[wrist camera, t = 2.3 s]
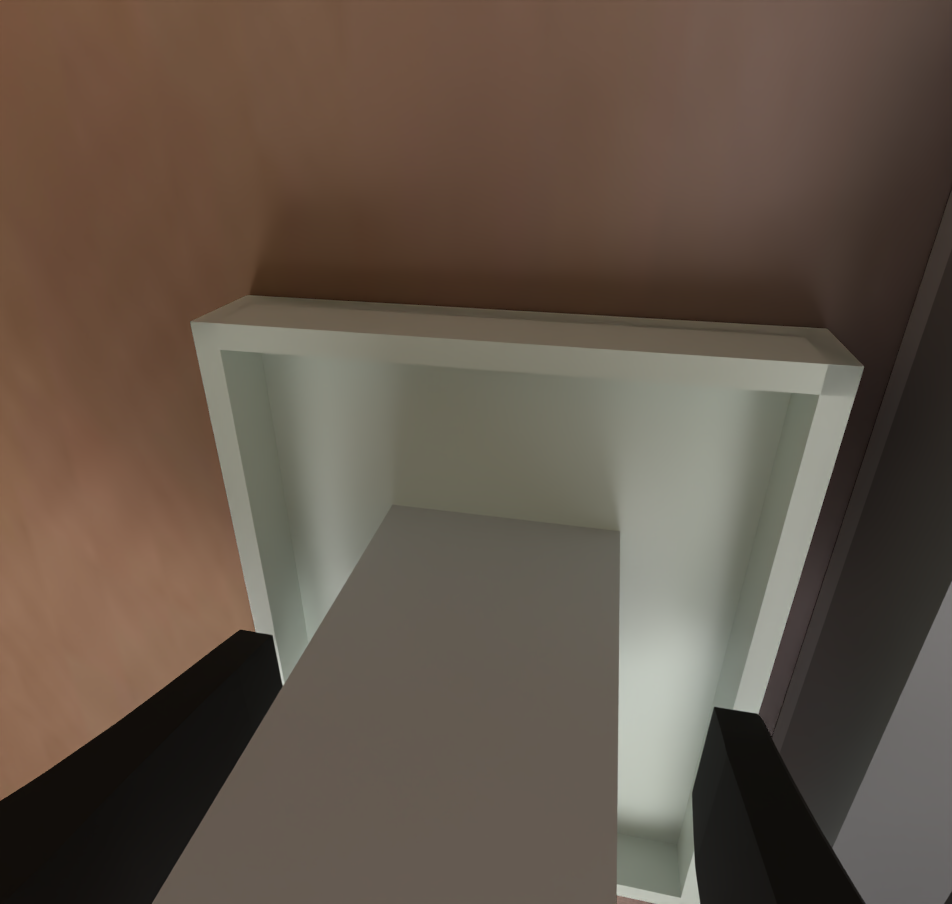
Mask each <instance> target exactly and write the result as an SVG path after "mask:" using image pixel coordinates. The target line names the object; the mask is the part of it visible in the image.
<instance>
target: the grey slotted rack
mask: <svg viewBox="0 0 952 904" xmlns="http://www.w3.org/2000/svg"><path fill="white" fill-rule="evenodd" d="M772 740H773V742H774V744H775V746H776V748H777V750H778V752H779V753H780V755H781V757H782V759H783V761H784V763H785V765H786V767H787V769H788V771H789V773H790V774H791V776H792V778H793V780H794V782H795V784H796V786H797V787H798V789H799V791H800V793H801V795H802V796H803V798H804V800H805V802H806V804H807V806H808V807H809V809H810V811H811V813H812V815H813V816H814V818H815V820H816V822H817V823H818V825H819V827H820V829H821V830H822V832H823V834H824V835H825V837H826V839H827V840H828V842H829V844H830V845H831V847H832V849H833V850H834V852H835V854H836V855H837V857H838V859H839V861H840V862H841V864H842V866H843V867H844V869H845V871H846V872H847V874H848V876H849V877H850V879H851V881H852V882H853V884H854V886H855V887H856V889H857V890H858V892H859V894H860V895H861V897H862V898H863V900H864V902H865V903H866V904H952V190H951V193H950V196H949V199H948V202H947V205H946V208H945V212H944V215H943V218H942V221H941V224H940V227H939V230H938V233H937V236H936V239H935V242H934V245H933V248H932V251H931V254H930V257H929V260H928V263H927V266H926V270H925V273H924V276H923V279H922V282H921V285H920V288H919V291H918V294H917V297H916V300H915V303H914V306H913V309H912V312H911V315H910V318H909V321H908V324H907V328H906V331H905V334H904V337H903V340H902V343H901V346H900V349H899V352H898V355H897V358H896V361H895V364H894V367H893V370H892V373H891V376H890V379H889V382H888V386H887V389H886V392H885V395H884V398H883V401H882V404H881V407H880V410H879V413H878V416H877V419H876V422H875V425H874V428H873V431H872V434H871V437H870V440H869V444H868V447H867V450H866V453H865V456H864V459H863V462H862V465H861V468H860V471H859V474H858V477H857V480H856V483H855V486H854V489H853V492H852V495H851V498H850V502H849V505H848V508H847V511H846V514H845V517H844V520H843V523H842V526H841V529H840V532H839V535H838V538H837V541H836V544H835V547H834V550H833V553H832V556H831V560H830V563H829V566H828V569H827V572H826V575H825V578H824V581H823V584H822V587H821V590H820V593H819V596H818V599H817V602H816V605H815V608H814V611H813V614H812V618H811V621H810V624H809V627H808V630H807V633H806V636H805V639H804V642H803V645H802V648H801V651H800V654H799V657H798V660H797V663H796V666H795V669H794V672H793V676H792V679H791V682H790V685H789V688H788V691H787V694H786V697H785V700H784V703H783V706H782V709H781V712H780V715H779V718H778V721H777V724H776V727H775V730H774V734H773V737H772Z"/></svg>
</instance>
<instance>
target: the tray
mask: <svg viewBox="0 0 952 904" xmlns="http://www.w3.org/2000/svg"><path fill="white" fill-rule="evenodd" d="M190 324H191V329H192V334H193V338H194V343H195V348H196V352H197V357H198V362H199V367H200V371H201V376H202V381H203V386H204V390H205V395H206V400H207V404H208V409H209V414H210V419H211V423H212V428H213V433H214V437H215V442H216V447H217V452H218V456H219V461H220V466H221V471H222V475H223V480H224V485H225V489H226V494H227V499H228V504H229V508H230V513H231V518H232V522H233V527H234V532H235V537H236V541H237V546H238V551H239V556H240V560H241V565H242V570H243V574H244V579H245V584H246V589H247V593H248V598H249V603H250V607H251V612H252V617H253V622H254V626H255V631H256V632H257V633H264V634H270V635H273V640H274V645H275V650H276V655H277V660H278V665H279V670H280V675H281V680H282V685H284V684H285V682H286V680H287V679H288V677H289V675H290V674H291V672H292V670H293V669H294V667H295V665H296V664H297V662H298V660H299V659H300V657H301V655H302V654H303V652H304V651H305V649H306V647H307V646H308V644H309V642H310V641H311V639H312V637H313V636H314V634H315V632H316V631H317V629H318V627H319V626H320V624H321V622H322V621H323V619H324V617H325V616H326V614H327V612H328V611H329V609H330V607H331V606H332V604H333V602H334V601H335V599H336V597H337V596H338V594H339V592H340V591H341V589H342V588H343V586H344V584H345V583H346V581H347V579H348V578H349V576H350V574H351V573H352V571H353V569H354V568H355V566H356V564H357V563H358V561H359V559H360V558H361V556H362V554H363V553H364V551H365V549H366V548H367V546H368V544H369V543H370V541H371V539H372V538H373V536H374V534H375V533H376V531H377V529H378V528H379V526H380V524H381V523H382V521H383V520H384V518H385V516H386V515H387V513H388V511H389V510H390V508H391V506H392V505H400V506H408V507H417V508H425V509H434V510H442V511H451V512H460V513H468V514H477V515H485V516H494V517H502V518H511V519H519V520H528V521H536V522H545V523H553V524H562V525H570V526H579V527H587V528H596V529H604V530H613V531H620V604H619V705H618V806H617V895H618V896H623V897H627V898H632V899H636V900H641V901H646V902H650V903H655V904H700V899H699V892H698V885H697V877H696V870H695V856H694V836H693V811H692V791H693V787H694V783H695V779H696V775H697V771H698V767H699V763H700V759H701V755H702V752H703V748H704V744H705V740H706V736H707V732H708V728H709V724H710V720H711V716H712V713H713V709H714V707H719V708H726V709H732V710H738V711H744V712H750V713H756V714H759V710H760V707H761V704H762V701H763V697H764V694H765V691H766V687H767V684H768V681H769V678H770V674H771V671H772V668H773V665H774V661H775V658H776V655H777V651H778V648H779V645H780V642H781V638H782V635H783V632H784V628H785V625H786V622H787V619H788V615H789V612H790V609H791V605H792V602H793V599H794V596H795V592H796V589H797V586H798V582H799V579H800V576H801V573H802V569H803V566H804V563H805V560H806V556H807V553H808V550H809V546H810V543H811V540H812V537H813V533H814V530H815V527H816V523H817V520H818V517H819V514H820V510H821V507H822V504H823V500H824V497H825V494H826V491H827V487H828V484H829V481H830V477H831V474H832V471H833V468H834V464H835V461H836V458H837V455H838V451H839V448H840V445H841V441H842V438H843V435H844V432H845V428H846V425H847V422H848V418H849V415H850V412H851V409H852V405H853V402H854V399H855V395H856V392H857V389H858V386H859V382H860V379H861V376H862V372H863V369H864V366H863V365H862V364H861V363H860V362H859V361H858V360H857V359H856V358H855V357H854V356H853V355H852V354H851V353H850V352H849V350H848V349H847V348H846V347H845V346H844V345H843V344H842V343H841V342H840V341H839V340H838V339H837V338H836V337H835V336H834V335H833V334H832V333H831V332H830V331H829V330H828V329H826V328H809V327H792V326H774V325H757V324H740V323H722V322H705V321H688V320H670V319H653V318H636V317H618V316H601V315H584V314H566V313H549V312H532V311H514V310H497V309H480V308H463V307H445V306H428V305H411V304H393V303H376V302H359V301H341V300H324V299H307V298H289V297H272V296H255V295H246V296H244V297H242V298H239V299H237V300H235V301H233V302H231V303H229V304H227V305H224V306H222V307H220V308H218V309H216V310H214V311H211V312H209V313H207V314H205V315H203V316H201V317H198V318H196V319H194V320H192V321H190Z"/></svg>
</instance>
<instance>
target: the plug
mask: <svg viewBox="0 0 952 904" xmlns="http://www.w3.org/2000/svg"><path fill="white" fill-rule="evenodd" d="M619 604H620V531H613V530H604V529H596V528H587V527H579V526H570V525H562V524H553V523H545V522H536V521H528V520H519V519H511V518H502V517H494V516H485V515H477V514H468V513H460V512H451V511H442V510H434V509H425V508H417V507H408V506H400V505H392V506H391V508H390V510H389V511H388V513H387V515H386V516H385V518H384V520H383V521H382V523H381V524H380V526H379V528H378V529H377V531H376V533H375V534H374V536H373V538H372V539H371V541H370V543H369V544H368V546H367V548H366V549H365V551H364V553H363V554H362V556H361V558H360V559H359V561H358V563H357V564H356V566H355V568H354V569H353V571H352V573H351V574H350V576H349V578H348V579H347V581H346V583H345V584H344V586H343V588H342V589H341V591H340V592H339V594H338V596H337V597H336V599H335V601H334V602H333V604H332V606H331V607H330V609H329V611H328V612H327V614H326V616H325V617H324V619H323V621H322V622H321V624H320V626H319V627H318V629H317V631H316V632H315V634H314V636H313V637H312V639H311V641H310V642H309V644H308V646H307V647H306V649H305V651H304V652H303V654H302V655H301V657H300V659H299V660H298V662H297V664H296V665H295V667H294V669H293V670H292V672H291V674H290V675H289V677H288V679H287V680H286V682H285V684H284V685H283V687H282V689H281V690H280V692H279V694H278V695H277V697H276V699H275V700H274V702H273V704H272V705H271V707H270V709H269V710H268V712H267V714H266V715H265V717H264V718H263V720H262V722H261V723H260V725H259V727H258V728H257V730H256V732H255V733H254V735H253V737H252V738H251V740H250V742H249V743H248V745H247V747H246V748H245V750H244V752H243V753H242V755H241V757H240V758H239V760H238V762H237V763H236V765H235V767H234V768H233V770H232V772H231V773H230V775H229V777H228V778H227V780H226V781H225V783H224V785H223V786H222V788H221V790H220V791H219V793H218V795H217V796H216V798H215V800H214V801H213V803H212V805H211V806H210V808H209V810H208V811H207V813H206V815H205V816H204V818H203V820H202V821H201V823H200V825H199V826H198V828H197V830H196V831H195V833H194V835H193V836H192V838H191V840H190V841H189V843H188V845H187V846H186V848H185V849H184V851H183V853H182V854H181V856H180V858H179V859H178V861H177V863H176V864H175V866H174V868H173V869H172V871H171V873H170V874H169V876H168V878H167V879H166V881H165V883H164V884H163V886H162V888H161V889H160V891H159V893H158V894H157V896H156V898H155V899H154V901H153V903H152V904H617V806H618V705H619Z"/></svg>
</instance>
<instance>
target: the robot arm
mask: <svg viewBox="0 0 952 904" xmlns="http://www.w3.org/2000/svg"><path fill="white" fill-rule="evenodd" d="M282 687H283V685H282V680H281V675H280V670H279V665H278V660H277V655H276V650H275V645H274V640H273V635H270V634H264V633H257V632H251V631H245V630H239V631H238V632H236V633H235V634H234V635H232V636H231V637H230V638H228V639H227V640H226V641H224V642H223V643H222V644H220V645H219V646H218V647H216V648H215V649H214V650H212V651H211V652H210V653H209V654H207V655H206V656H205V657H203V658H202V659H201V660H199V661H198V662H197V663H196V664H194V665H193V666H192V667H190V668H189V669H188V670H186V671H185V672H184V673H182V674H181V675H180V676H179V677H177V678H176V679H175V680H173V681H172V682H171V683H169V684H168V685H167V686H165V687H164V688H163V689H161V690H160V691H159V692H157V693H156V694H155V695H153V696H152V697H151V698H149V699H148V700H147V701H145V702H144V703H143V704H141V705H140V706H139V707H137V708H136V709H135V710H133V711H132V712H131V713H129V714H128V715H127V716H125V717H124V718H122V719H121V720H120V721H118V722H117V723H116V724H114V725H113V726H111V727H110V728H109V729H107V730H106V731H104V732H103V733H101V734H100V735H98V736H97V737H96V738H94V739H93V740H91V741H90V742H88V743H87V744H86V745H84V746H83V747H81V748H80V749H78V750H77V751H75V752H74V753H73V754H71V755H70V756H68V757H67V758H65V759H64V760H62V761H61V762H60V763H58V764H57V765H55V766H54V767H52V768H51V769H49V770H48V771H46V772H45V773H43V774H42V775H40V776H39V777H37V778H36V779H34V780H33V781H31V782H30V783H28V784H27V785H25V786H23V787H22V788H20V789H19V790H17V791H15V792H14V793H12V794H11V795H9V796H8V797H6V798H4V799H3V800H1V801H0V904H152V903H153V901H154V899H155V898H156V896H157V894H158V893H159V891H160V889H161V888H162V886H163V884H164V883H165V881H166V879H167V878H168V876H169V874H170V873H171V871H172V869H173V868H174V866H175V864H176V863H177V861H178V859H179V858H180V856H181V854H182V853H183V851H184V849H185V848H186V846H187V845H188V843H189V841H190V840H191V838H192V836H193V835H194V833H195V831H196V830H197V828H198V826H199V825H200V823H201V821H202V820H203V818H204V816H205V815H206V813H207V811H208V810H209V808H210V806H211V805H212V803H213V801H214V800H215V798H216V796H217V795H218V793H219V791H220V790H221V788H222V786H223V785H224V783H225V781H226V780H227V778H228V777H229V775H230V773H231V772H232V770H233V768H234V767H235V765H236V763H237V762H238V760H239V758H240V757H241V755H242V753H243V752H244V750H245V748H246V747H247V745H248V743H249V742H250V740H251V738H252V737H253V735H254V733H255V732H256V730H257V728H258V727H259V725H260V723H261V722H262V720H263V718H264V717H265V715H266V714H267V712H268V710H269V709H270V707H271V705H272V704H273V702H274V700H275V699H276V697H277V695H278V694H279V692H280V690H281V689H282ZM692 811H693V836H694V856H695V870H696V877H697V885H698V892H699V899H700V904H866V903H865V902H864V900H863V898H862V897H861V895H860V894H859V892H858V890H857V889H856V887H855V886H854V884H853V882H852V881H851V879H850V877H849V876H848V874H847V872H846V871H845V869H844V867H843V866H842V864H841V862H840V861H839V859H838V857H837V855H836V854H835V852H834V850H833V849H832V847H831V845H830V844H829V842H828V840H827V839H826V837H825V835H824V834H823V832H822V830H821V829H820V827H819V825H818V823H817V822H816V820H815V818H814V816H813V815H812V813H811V811H810V809H809V807H808V806H807V804H806V802H805V800H804V798H803V796H802V795H801V793H800V791H799V789H798V787H797V786H796V784H795V782H794V780H793V778H792V776H791V774H790V773H789V771H788V769H787V767H786V765H785V763H784V761H783V759H782V757H781V755H780V753H779V752H778V750H777V748H776V746H775V744H774V742H773V740H772V738H771V736H770V734H769V732H768V730H767V728H766V725H765V723H764V721H763V720H762V719H761V718H760V716H759V715H758V714H756V713H750V712H744V711H738V710H732V709H726V708H719V707H714V709H713V713H712V716H711V720H710V724H709V728H708V732H707V736H706V740H705V744H704V748H703V752H702V755H701V759H700V763H699V767H698V771H697V775H696V779H695V783H694V787H693V791H692Z"/></svg>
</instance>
